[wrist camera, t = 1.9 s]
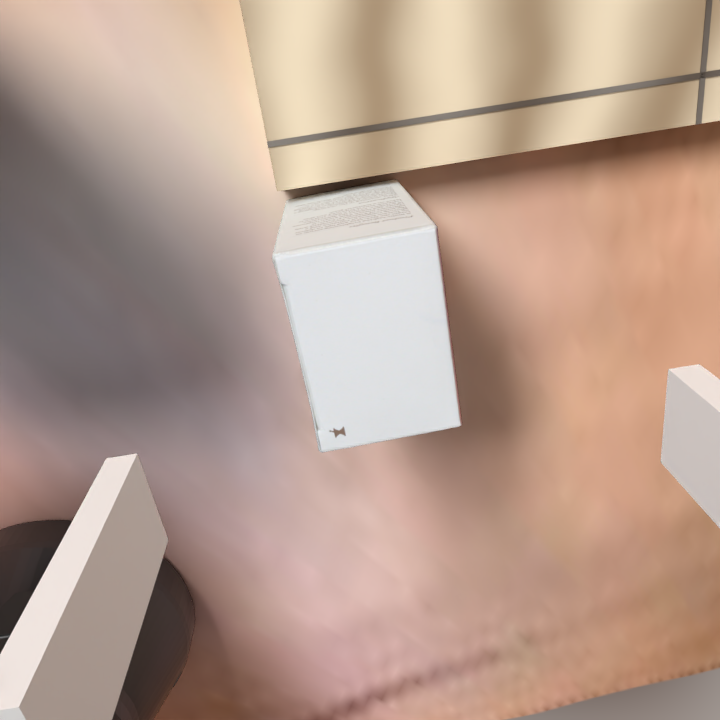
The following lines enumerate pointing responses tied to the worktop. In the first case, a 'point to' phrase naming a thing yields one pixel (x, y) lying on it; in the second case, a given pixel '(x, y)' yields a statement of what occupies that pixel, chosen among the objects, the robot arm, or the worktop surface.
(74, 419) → the worktop surface
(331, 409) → the small box
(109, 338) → the worktop surface
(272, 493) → the worktop surface
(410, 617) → the worktop surface
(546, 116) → the board
